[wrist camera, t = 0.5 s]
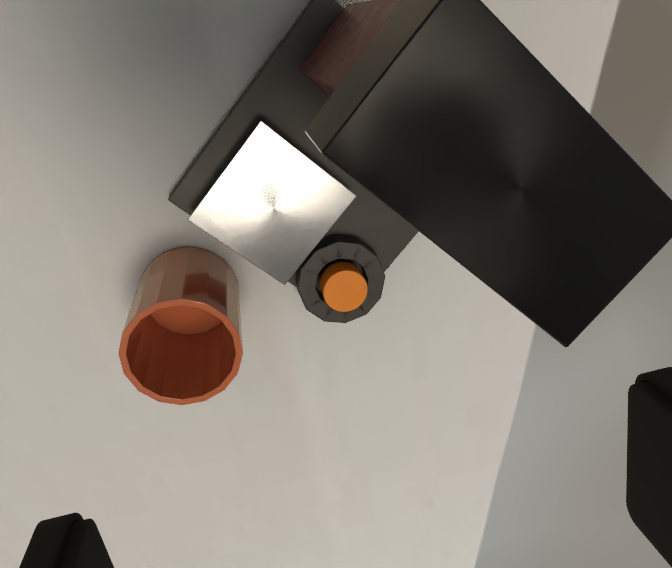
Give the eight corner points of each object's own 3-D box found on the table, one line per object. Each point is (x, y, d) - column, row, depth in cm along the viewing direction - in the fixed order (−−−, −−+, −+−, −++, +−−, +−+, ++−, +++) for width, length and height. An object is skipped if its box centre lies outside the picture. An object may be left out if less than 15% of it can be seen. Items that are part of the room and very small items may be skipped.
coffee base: (165, 200, 40) (161, 213, 38) (319, -11, 37) (326, -14, 34) (340, 318, 46) (347, 337, 43) (487, 144, 42) (505, 152, 40)
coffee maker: (336, 319, 42) (411, 511, 25) (185, 216, 38) (153, 368, 21) (489, 137, 39) (691, 219, 22) (344, 2, 35) (458, -24, 18)
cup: (120, 303, 42) (95, 368, 34) (176, 227, 41) (164, 277, 33) (202, 351, 45) (197, 422, 37) (257, 281, 44) (265, 340, 35)
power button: (310, 286, 41) (314, 296, 40) (338, 252, 41) (342, 261, 39) (343, 309, 43) (348, 320, 41) (371, 276, 42) (377, 286, 40)
